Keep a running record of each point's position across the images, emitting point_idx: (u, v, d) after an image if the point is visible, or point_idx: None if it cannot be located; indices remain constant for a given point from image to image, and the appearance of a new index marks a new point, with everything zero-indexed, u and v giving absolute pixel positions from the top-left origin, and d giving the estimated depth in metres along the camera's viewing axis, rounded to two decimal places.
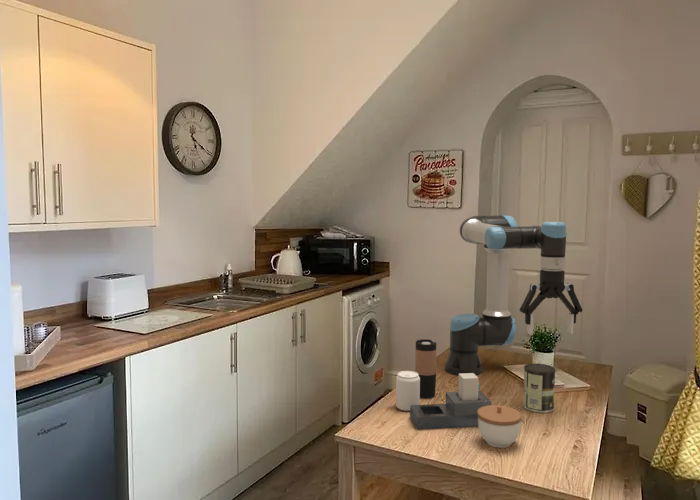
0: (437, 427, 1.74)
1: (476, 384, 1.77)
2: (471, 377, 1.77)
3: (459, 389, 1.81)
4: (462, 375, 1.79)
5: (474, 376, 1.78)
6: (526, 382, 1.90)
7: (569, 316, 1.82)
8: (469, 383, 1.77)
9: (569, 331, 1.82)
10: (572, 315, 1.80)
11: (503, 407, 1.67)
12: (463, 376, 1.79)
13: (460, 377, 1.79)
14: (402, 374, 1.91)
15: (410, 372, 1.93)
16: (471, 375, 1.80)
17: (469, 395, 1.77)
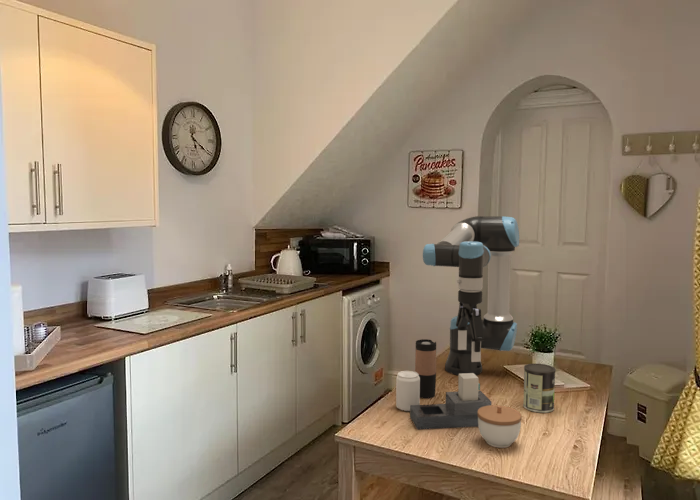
0: (437, 427, 1.74)
1: (476, 384, 1.77)
2: (471, 377, 1.77)
3: (459, 389, 1.81)
4: (462, 375, 1.79)
5: (474, 376, 1.78)
6: (526, 382, 1.90)
7: None
8: (469, 383, 1.77)
9: None
10: (472, 342, 1.71)
11: (503, 407, 1.67)
12: (463, 376, 1.79)
13: (460, 377, 1.79)
14: (402, 374, 1.91)
15: (410, 372, 1.93)
16: (471, 375, 1.80)
17: (469, 395, 1.77)
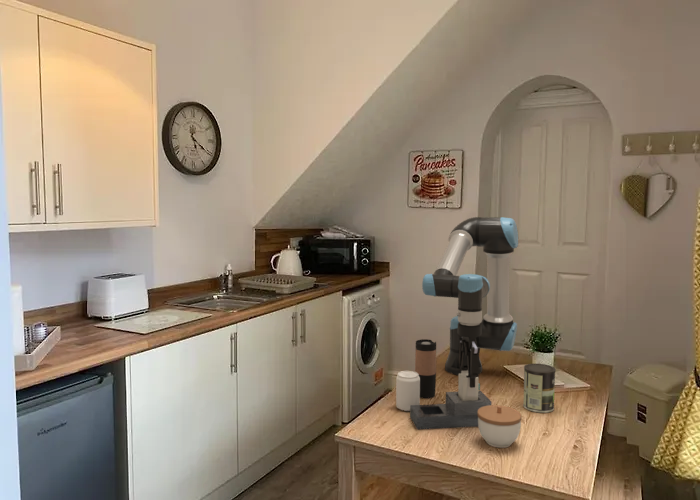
0: (437, 427, 1.74)
1: (476, 384, 1.77)
2: None
3: (459, 389, 1.81)
4: (462, 375, 1.79)
5: None
6: (526, 382, 1.90)
7: None
8: None
9: None
10: (467, 377, 1.76)
11: (503, 407, 1.67)
12: (463, 376, 1.79)
13: (460, 377, 1.79)
14: (402, 374, 1.91)
15: (410, 372, 1.93)
16: None
17: None
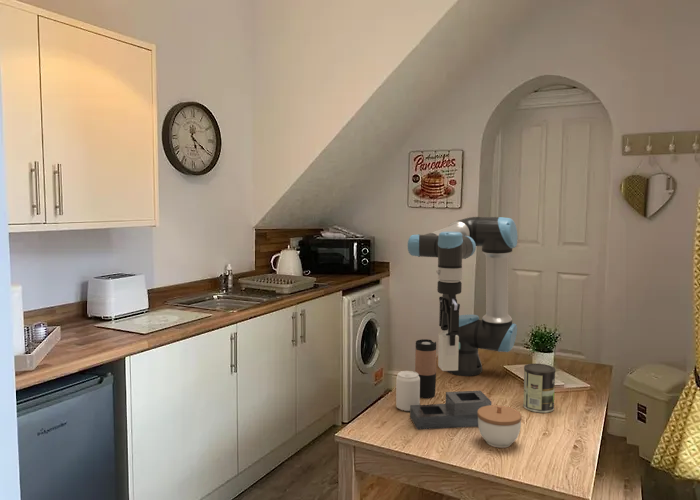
0: (437, 427, 1.74)
1: (456, 343, 1.75)
2: None
3: (439, 348, 1.78)
4: (442, 334, 1.77)
5: None
6: (526, 382, 1.90)
7: None
8: None
9: None
10: (447, 335, 1.74)
11: (503, 407, 1.67)
12: (443, 334, 1.76)
13: (440, 336, 1.77)
14: (402, 374, 1.91)
15: (410, 372, 1.93)
16: None
17: None
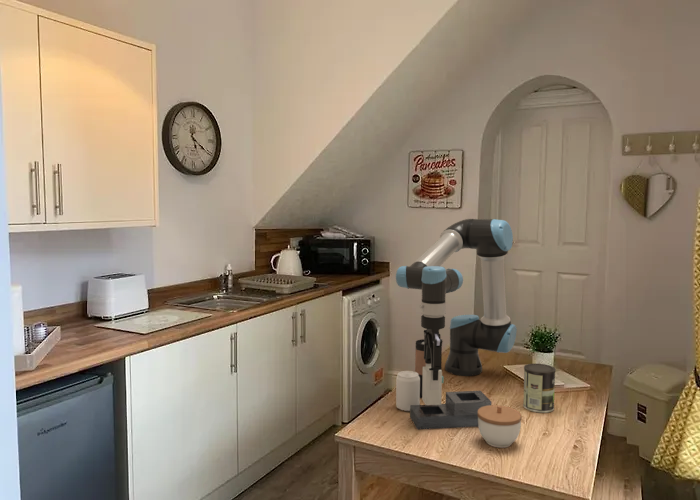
0: (437, 427, 1.74)
1: (439, 377, 1.75)
2: None
3: (423, 382, 1.79)
4: (426, 368, 1.78)
5: None
6: (526, 382, 1.90)
7: None
8: None
9: None
10: (430, 370, 1.74)
11: (503, 407, 1.67)
12: (426, 368, 1.77)
13: (424, 370, 1.77)
14: (402, 374, 1.91)
15: (410, 372, 1.93)
16: None
17: None
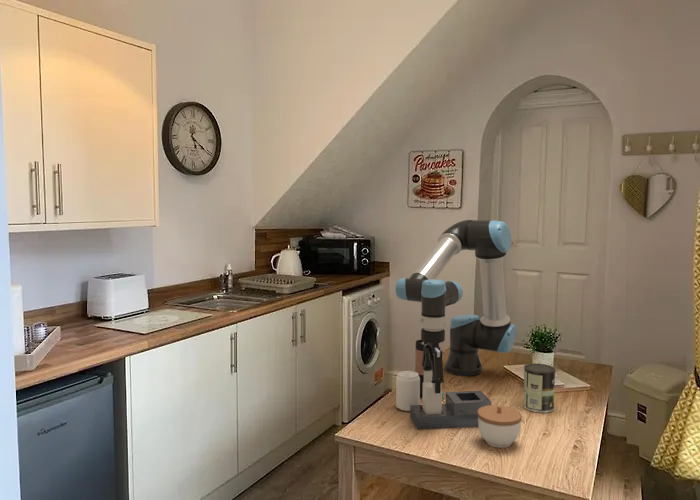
0: (437, 427, 1.74)
1: None
2: None
3: (423, 398, 1.80)
4: (426, 384, 1.78)
5: None
6: (526, 382, 1.90)
7: None
8: None
9: None
10: (432, 383, 1.72)
11: (503, 407, 1.67)
12: (426, 385, 1.78)
13: (424, 386, 1.78)
14: (402, 374, 1.91)
15: (410, 372, 1.93)
16: None
17: (432, 404, 1.76)
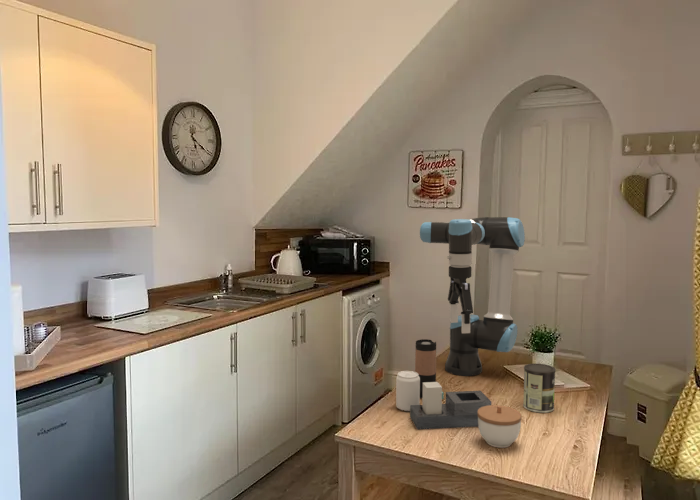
0: (437, 427, 1.74)
1: (439, 393, 1.76)
2: (434, 386, 1.76)
3: (423, 398, 1.80)
4: (426, 384, 1.78)
5: (438, 385, 1.77)
6: (526, 382, 1.90)
7: None
8: (433, 392, 1.76)
9: None
10: (462, 314, 1.80)
11: (503, 407, 1.67)
12: (426, 385, 1.78)
13: (424, 386, 1.78)
14: (402, 374, 1.91)
15: (410, 372, 1.93)
16: (435, 384, 1.78)
17: (432, 404, 1.76)
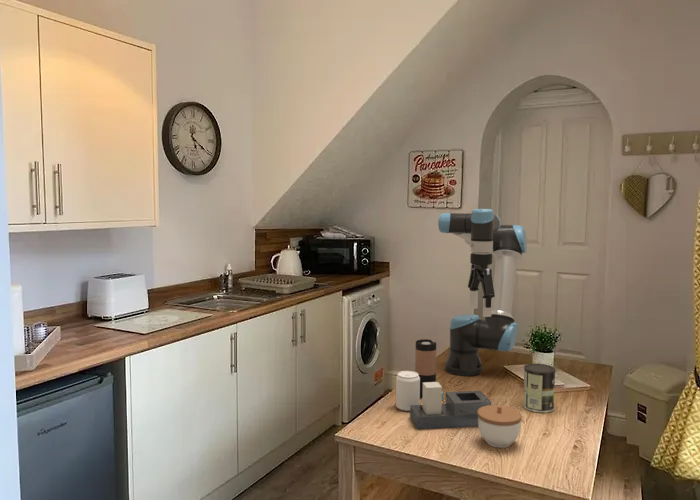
0: (437, 427, 1.74)
1: (439, 393, 1.76)
2: (434, 386, 1.76)
3: (423, 398, 1.80)
4: (426, 384, 1.78)
5: (438, 385, 1.77)
6: (526, 382, 1.90)
7: None
8: (433, 392, 1.76)
9: None
10: (483, 298, 1.89)
11: (503, 407, 1.67)
12: (426, 385, 1.78)
13: (424, 386, 1.78)
14: (402, 374, 1.91)
15: (410, 372, 1.93)
16: (435, 384, 1.78)
17: (432, 404, 1.76)
